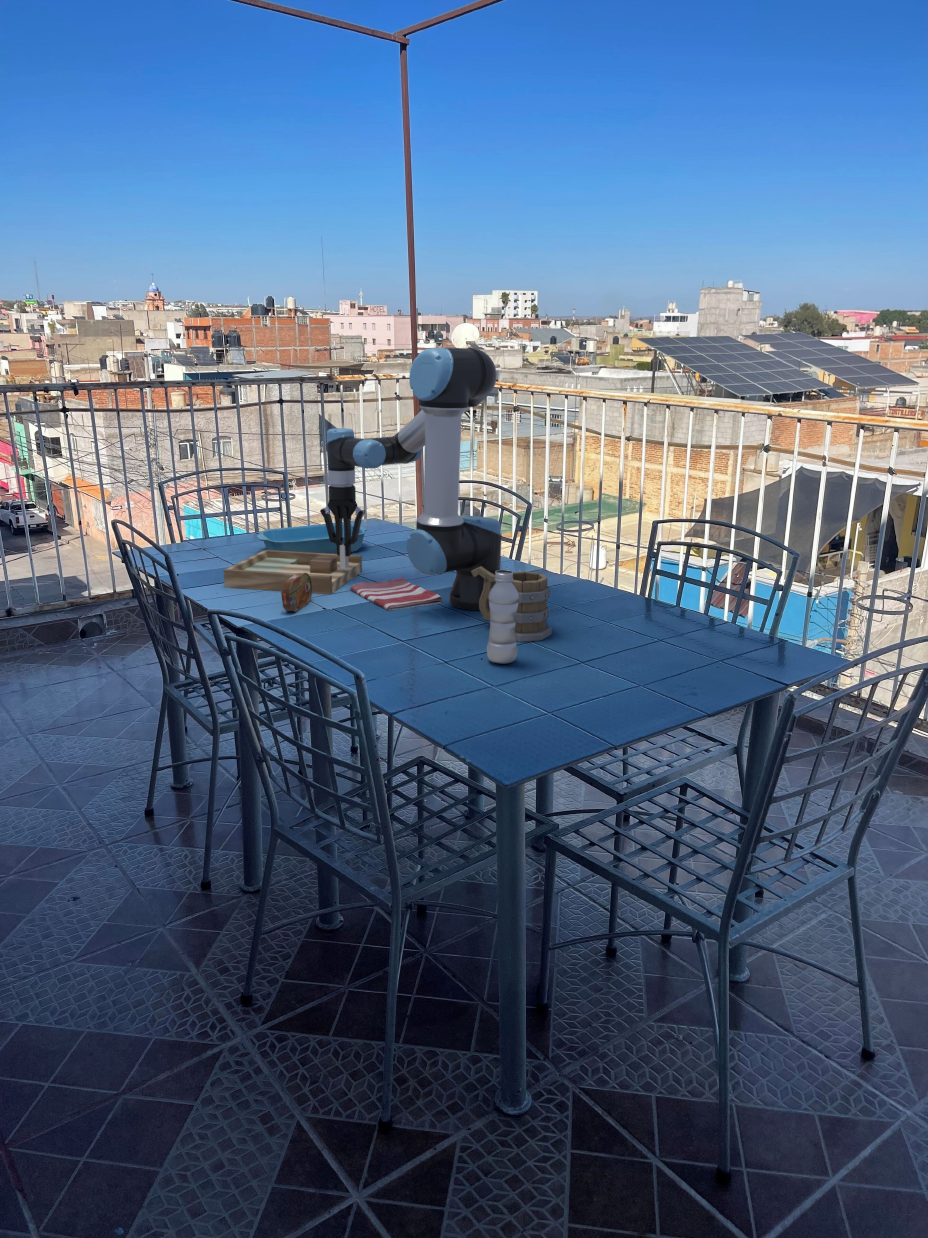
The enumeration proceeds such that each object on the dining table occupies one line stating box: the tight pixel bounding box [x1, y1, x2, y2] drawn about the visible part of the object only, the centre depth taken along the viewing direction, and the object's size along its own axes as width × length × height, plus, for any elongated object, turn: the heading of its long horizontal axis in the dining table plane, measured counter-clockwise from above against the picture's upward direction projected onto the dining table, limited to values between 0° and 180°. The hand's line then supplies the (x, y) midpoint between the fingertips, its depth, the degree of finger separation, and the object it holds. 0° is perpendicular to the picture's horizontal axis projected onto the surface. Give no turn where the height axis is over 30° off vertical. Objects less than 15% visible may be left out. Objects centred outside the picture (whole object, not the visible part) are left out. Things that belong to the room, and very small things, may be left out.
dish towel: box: [349, 576, 443, 612], centre depth 232 cm, size 17×23×3 cm
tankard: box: [471, 566, 553, 643], centre depth 202 cm, size 20×13×15 cm, turn 59°
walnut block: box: [310, 556, 337, 574], centre depth 246 cm, size 6×6×4 cm
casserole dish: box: [256, 522, 367, 554], centre depth 285 cm, size 37×22×7 cm, turn 115°
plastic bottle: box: [486, 569, 519, 665], centre depth 180 cm, size 6×7×20 cm
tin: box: [280, 573, 313, 613], centre depth 220 cm, size 15×3×8 cm, turn 168°
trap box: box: [223, 549, 363, 595], centre depth 248 cm, size 27×32×5 cm
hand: (344, 566), depth 245 cm, fingers closed
